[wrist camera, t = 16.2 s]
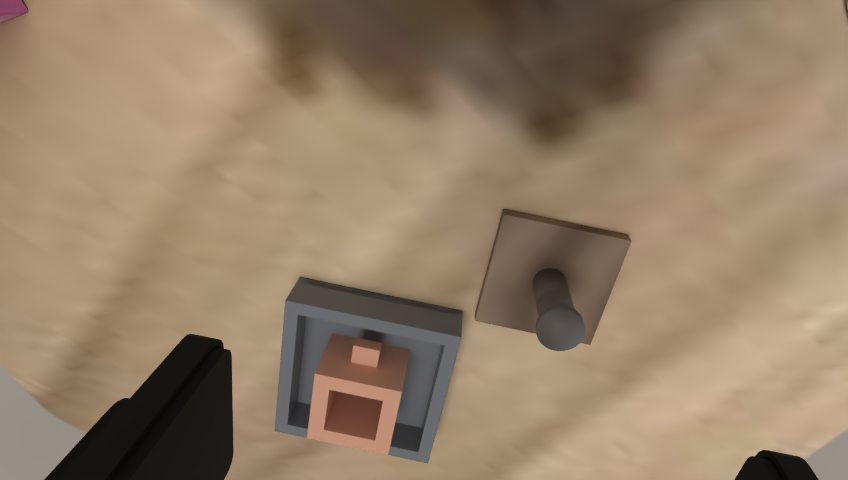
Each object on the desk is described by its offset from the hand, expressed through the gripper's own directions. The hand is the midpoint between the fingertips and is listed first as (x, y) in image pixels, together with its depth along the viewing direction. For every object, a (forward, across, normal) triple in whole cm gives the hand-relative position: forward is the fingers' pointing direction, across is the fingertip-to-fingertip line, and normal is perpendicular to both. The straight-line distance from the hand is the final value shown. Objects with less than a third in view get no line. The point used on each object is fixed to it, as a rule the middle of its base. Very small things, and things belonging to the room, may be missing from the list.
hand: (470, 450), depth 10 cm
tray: (+28, +6, +22) cm, 36 cm away
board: (+28, -7, +11) cm, 31 cm away
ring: (+27, +6, +22) cm, 35 cm away
